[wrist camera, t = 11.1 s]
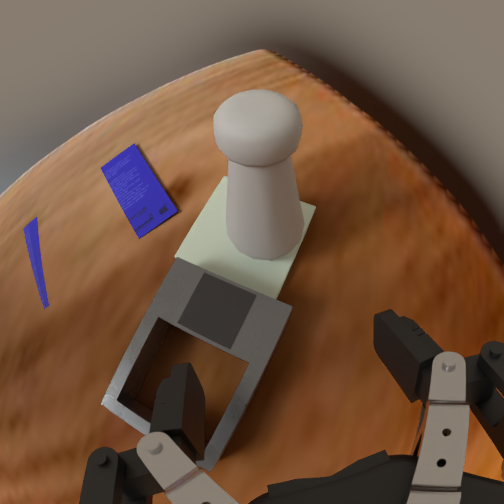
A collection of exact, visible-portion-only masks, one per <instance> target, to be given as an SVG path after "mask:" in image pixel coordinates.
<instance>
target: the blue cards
mask: <svg viewBox="0 0 504 504" xmlns="http://www.w3.org/2000/svg"><path fill="white" fill-rule="evenodd" d="M101 169H102V171H103V173H104V175H105V177H106V179H107V181H108V183H109V185H110V187H111V189H112V191H113V193H114V195H115V196H116V198H117V200H118V202H119V204H120V206H121V208H122V209H123V211H124V213H125V215H126V217H127V218H128V220H129V222H130V224H131V225H132V227H133V229H134V231H135V232H136V234H137V236H138V238H139V239H140V238H141V237H143V236H144V235H145V234H147V233H148V232H149V231H151V230H152V229H154V228H155V227H156V226H158V225H159V224H160V223H162V222H163V221H165V220H166V219H167V218H169V217H170V216H172V215H173V214H174V213H176V212H177V211H178V210H177V209H176V207H175V206H174V204H173V203H172V201H171V200H170V198H169V197H168V195H167V194H166V192H165V190H164V189H163V187H162V186H161V184H160V183H159V181H158V180H157V178H156V177H155V175H154V173H153V172H152V170H151V169H150V167H149V166H148V164H147V163H146V161H145V159H144V158H143V156H142V155H141V153H140V151H139V150H138V148H137V147H136V145H135V143H134V144H133V145H131V146H130V147H128V148H127V149H126V150H124V151H123V152H121V153H120V154H119V155H117V156H116V157H115V158H113V159H112V160H111V161H109V162H108V163H107V164H105V165H104V166H103V167H101ZM24 233H25V238H26V243H27V248H28V252H29V256H30V261H31V265H32V269H33V272H34V276H35V280H36V283H37V287H38V290H39V293H40V297H41V300H42V303H43V306H44V309H45V308H46V307H48V306H49V303H48V298H47V293H46V287H45V282H44V276H43V269H42V262H41V254H40V245H39V235H38V223H37V217H36V218H35V219H34V220H32V221H31V222H30V223H29V224H28V225H27V226H26V227H25V228H24Z"/></svg>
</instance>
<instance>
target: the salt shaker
mask: <svg viewBox="0 0 504 504" xmlns="http://www.w3.org/2000/svg"><path fill="white" fill-rule="evenodd" d="M302 127H303V125H302V119H301V115H300V112H299V110H298V107H297V105H296V104H295V103H294V102H292V101H291V100H289V99H288V98H286V97H285V96H283V95H282V94H281V93H277V92H274V91H270V90H248V91H244V92H240V93H237V94H235V95H233V96H232V97H230V98H229V99H227V100H226V101H224V102H223V103H222V104H221V105H220V107H219V108H218V110H217V111H216V113H215V114H214V135H215V140H216V143H217V146H218V148H219V149H220V150H221V151H222V152H223V153H224V154H225V156H226V157H227V158H228V159H229V162H228V182H227V203H226V227H227V234H228V237H229V238H230V240H231V241H232V243H233V244H234V246H235V247H236V249H237V250H238V251H239V252H240V253H242V254H245V255H247V256H249V257H251V258H253V259H260V260H270V261H271V260H274V259H276V258H279V257H281V256H284V255H286V254H288V253H289V252H290V251H291V250H292V249H293V248H294V247H295V246H296V245H297V244H298V243H299V242H300V240H301V237H302V233H303V229H304V225H305V223H304V218H303V213H302V208H301V204H300V199H299V195H298V190H297V184H296V179H295V174H294V169H293V164H292V159H291V155H292V154H293V153H294V152H295V151H296V150H297V148H298V145H299V141H300V138H301V134H302Z"/></svg>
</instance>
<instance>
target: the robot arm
mask: <svg viewBox="0 0 504 504" xmlns="http://www.w3.org/2000/svg"><path fill="white" fill-rule="evenodd" d="M374 348H375V351H376V353H377V355H378V356H379V358H380V359H381V360H382V362H383V363H384V365H385V366H386V367H387V369H388V370H389V372H390V373H391V374H392V376H393V377H394V379H395V380H396V382H397V383H398V384H399V386H400V387H401V389H402V390H403V392H404V393H405V395H406V396H407V397H408V399H409V400H410V402H411V403H412V402H414V401H417V400H419V399H420V400H421V401H422V407H421V412H420V417H419V422H418V427H417V432H416V436H415V440H414V444H413V447H412V450H411V453H410V455H390V456H388V455H387V453H386V451H385V450H383V451H380V452H378V453H376V454H373V455H371V456H368V457H365V458H363V459H360V460H358V461H356V462H354V463H353V464H351V465H349V466H348V467H346V468H344V469H343V470H341V471H339V472H338V473H336V474H334V475H332V476H329V477H320V478H304V479H294V480H290V481H285V482H281V483H276V484H271V485H267V487H268V492H267V493H265V494H262V495H261V496H259V497H257V498H255V499H254V500H252V501H251V502H250V503H249V504H504V482H502V481H498V480H494V479H489V478H485V477H481V476H477V475H474V474H470V473H466V472H463V468H464V462H465V455H466V447H467V438H468V426H469V408H470V409H471V411H472V412H473V413H474V415H475V416H476V418H477V419H478V421H479V422H480V424H481V425H482V427H483V428H484V430H485V431H486V433H487V434H488V436H489V437H490V439H491V440H492V442H493V443H494V445H495V446H496V448H497V450H498V451H499V453H500V454H501V456H502V458H503V459H504V398H503V397H502V396H501V395H500V393H499V392H498V391H497V390H496V388H497V389H498V390H499V391H500V392H501V393H502V395H503V396H504V344H503V343H501V342H497V341H491V342H488V343H486V344H484V345H483V347H482V348H481V352H480V354H478V355H474V356H470V357H465V358H463V357H462V356H461V355H460V354H458V353H455V352H444V351H443V350H442V349H441V348H440V347H439V346H438V345H437V344H436V342H435V341H434V340H433V339H432V338H431V337H430V336H429V335H428V334H427V333H425V331H424V330H423V329H422V328H420V326H419V325H418V324H417V323H415V322H414V321H413V320H411V319H409V318H407V317H405V316H402V317H399V316H398V315H397V314H396V313H395V312H394V311H393V310H391V309H389V310H386V311H383V312H380V313H378V314H375V315H374ZM154 405H155V406H154V408H153V414H152V419H151V425H150V430H149V434H147V435H145V436H144V437H143V438H142V439H141V440H140V441H139V443H138V445H137V447H136V448H134V449H131V450H128V451H124V452H121V453H116V452H115V450H113V449H112V448H109V447H102V448H99V449H96V450H95V451H94V452H92V453H91V455H90V456H89V458H88V462H87V466H86V471H85V476H84V481H83V486H82V491H81V496H80V502H79V504H152V497H153V495H154V494H158V493H161V492H164V493H165V495H166V496H167V497H168V499H169V500H170V501H171V502H172V503H173V504H239V503H238V502H237V501H236V500H234V499H233V498H232V497H231V496H230V495H229V494H227V493H226V492H225V491H224V490H223V489H222V488H221V487H219V486H218V485H217V484H216V483H215V482H214V481H213V480H212V479H211V478H210V477H209V476H208V475H207V474H206V473H204V472H203V471H202V470H201V469H200V468H198V467H197V466H196V461H203V460H204V426H205V396H204V391H203V388H202V386H201V384H200V382H199V380H198V377H197V375H196V373H195V371H194V369H193V367H192V365H191V363H183V364H178V365H173V366H172V369H171V375H170V378H164V379H163V380H162V382H161V383H160V385H159V386H158V388H157V393H156V398H155V403H154ZM501 476H502V479H503V480H504V460H503V462H502V475H501Z"/></svg>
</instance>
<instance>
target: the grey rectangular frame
mask: <svg viewBox="0 0 504 504" xmlns="http://www.w3.org/2000/svg"><path fill="white" fill-rule="evenodd" d="M292 308H293V306H290V305H288V304H286V303H283V302H281V301H278V300H276V299H273V298H271V297H269V296H266V295H264V294H262V293H259V292H257V291H254V290H252V289H250V288H247V287H245V286H243V285H240V284H238V283H236V282H233V281H231V280H229V279H226V278H224V277H222V276H219V275H217V274H215V273H213V272H210V271H208V270H206V269H204V268H201V267H199V266H197V265H195V264H192V263H190V262H188V261H186V260H183V259H181V258H179V257H177V258H176V260H175V261H174V263H173V265H172V267H171V268H170V270H169V272H168V274H167V275H166V277H165V279H164V281H163V282H162V284H161V286H160V288H159V290H158V291H157V293H156V295H155V297H154V299H153V301H152V302H151V304H150V306H149V308H148V310H147V312H146V314H145V315H144V317H143V319H142V321H141V323H140V325H139V327H138V329H137V331H136V333H135V335H134V336H133V338H132V340H131V342H130V344H129V346H128V348H127V350H126V352H125V354H124V356H123V358H122V360H121V362H120V364H119V366H118V368H117V370H116V372H115V375H114V377H113V379H112V381H111V383H110V385H109V387H108V389H107V391H106V394H105V396H104V398H103V400H102V402H101V404H102V405H104V406H105V407H106V408H108V409H109V410H110V411H112V412H113V413H114V414H116V415H117V416H118V417H120V418H121V419H122V420H124V421H125V422H127V423H128V424H130V425H131V426H132V427H134V428H135V429H137V430H138V431H140V432H141V433H143V434H144V435H147V434H149V430H150V425H151V419H152V414H153V411H152V410H150V409H149V408H147V407H145V406H144V405H142V404H141V403H139V402H138V401H136V400H135V398H136V396H137V394H138V392H139V390H140V387H141V385H142V383H143V381H144V379H145V377H146V375H147V373H148V371H149V369H150V367H151V365H152V363H153V361H154V360H155V358H156V356H157V354H158V352H159V350H160V348H161V346H162V344H163V342H164V340H165V338H166V336H167V334H168V332H169V330H170V328H171V327H172V325H173V326H175V327H177V328H179V329H181V330H182V331H184V332H186V333H188V334H190V335H192V336H194V337H196V338H198V339H200V340H202V341H204V342H206V343H208V344H210V345H212V346H214V347H216V348H218V349H220V350H222V351H224V352H226V353H228V354H230V355H232V356H234V357H237V358H239V359H241V360H243V361H245V362H247V363H249V365H248V367H247V369H246V371H245V373H244V375H243V377H242V379H241V381H240V383H239V385H238V387H237V389H236V391H235V393H234V395H233V397H232V399H231V401H230V403H229V405H228V407H227V409H226V411H225V413H224V415H223V417H222V419H221V421H220V423H219V425H218V426H217V428H216V430H215V432H214V434H213V436H212V438H211V440H210V442H209V443H208V442H206V441H204V460H203V461H196V465H198V466H200V467H202V468H204V469H206V470H208V471H210V472H211V471H212V469H213V468H214V467H215V465H216V464H217V463H218V461H219V460H220V458H221V456H222V455H223V453H224V451H225V449H226V447H227V445H228V444H229V442H230V440H231V438H232V436H233V434H234V432H235V430H236V429H237V427H238V425H239V423H240V421H241V419H242V417H243V415H244V413H245V411H246V409H247V407H248V405H249V403H250V401H251V399H252V397H253V395H254V393H255V391H256V389H257V387H258V385H259V383H260V381H261V379H262V377H263V375H264V373H265V371H266V369H267V367H268V364H269V362H270V360H271V358H272V356H273V354H274V352H275V349H276V347H277V345H278V343H279V341H280V339H281V336H282V334H283V332H284V330H285V327H286V325H287V323H288V321H289V318H290V316H291V312H292Z"/></svg>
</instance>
